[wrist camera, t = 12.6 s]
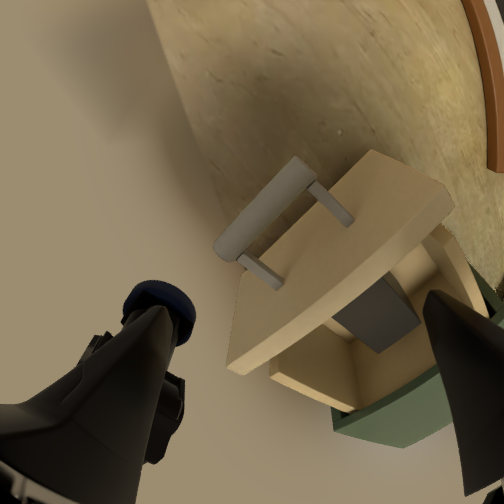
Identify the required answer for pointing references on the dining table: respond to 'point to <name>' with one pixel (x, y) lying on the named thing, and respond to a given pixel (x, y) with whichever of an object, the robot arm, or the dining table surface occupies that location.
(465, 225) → the dining table surface
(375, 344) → the dark grey block
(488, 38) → the wall art
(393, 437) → the cabinet
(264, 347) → the drawer
